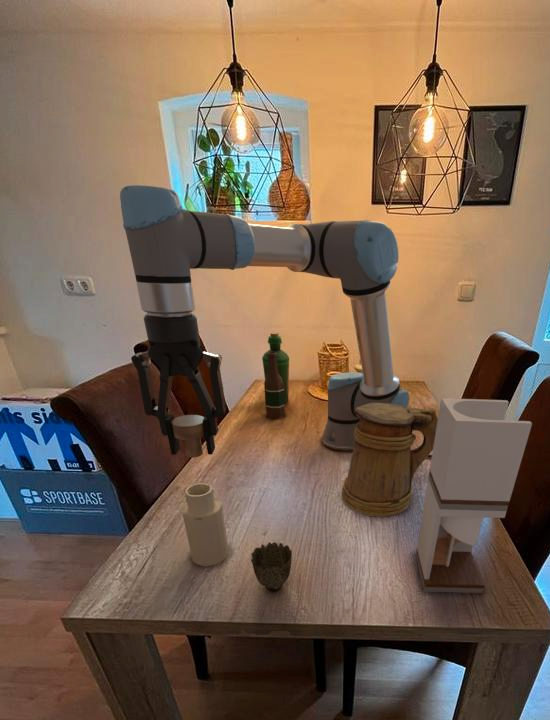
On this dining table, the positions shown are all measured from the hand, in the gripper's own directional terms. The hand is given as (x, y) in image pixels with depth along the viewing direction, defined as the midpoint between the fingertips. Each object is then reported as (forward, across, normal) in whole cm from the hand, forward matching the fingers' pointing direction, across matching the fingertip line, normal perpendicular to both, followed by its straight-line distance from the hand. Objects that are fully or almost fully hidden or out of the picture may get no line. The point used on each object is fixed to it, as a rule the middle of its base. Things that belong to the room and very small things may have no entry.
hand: (193, 451), depth 72 cm
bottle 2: (+24, -8, -97) cm, 100 cm away
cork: (+1, 0, 0) cm, 1 cm away
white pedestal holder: (+24, -49, +8) cm, 55 cm away
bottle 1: (+24, 0, 0) cm, 24 cm away
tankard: (+24, -41, -21) cm, 52 cm away
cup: (+24, -14, +10) cm, 30 cm away
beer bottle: (+24, -8, -82) cm, 85 cm away
